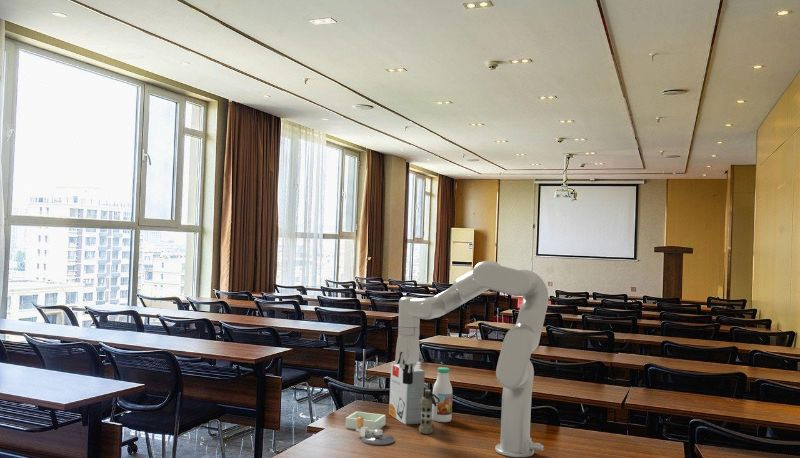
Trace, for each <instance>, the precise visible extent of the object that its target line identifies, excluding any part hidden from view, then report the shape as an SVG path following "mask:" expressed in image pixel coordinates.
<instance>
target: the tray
mask: <svg viewBox="0 0 800 458" xmlns="http://www.w3.org/2000/svg"><path fill="white" fill-rule="evenodd" d="M357 417H363V418H364V422H363V426H364V427H368V429H371V430H375V429H382V428H384V426H385V425H386V418H387V417H386V414H381V413H372V412H371V413H370V412H364V411H354V412H353V413H351V414H349V415H348V416H346V417H345V421H344V422H345V429H350V430H356V428H357Z"/></svg>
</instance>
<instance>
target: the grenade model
mask: <svg viewBox="0 0 800 458" xmlns="http://www.w3.org/2000/svg"><path fill="white" fill-rule="evenodd" d="M434 397H435V398H437V399H438V402H437V403H439V402H440V400H439V398H438V397H437V396H436V395H434V394H433V392H432V389H424V397H421V398H420V403H421V423H420V425H419V426H418V432H419V433H420V434H422V435H431V434H432V433H434V432H433V431H434V427H433V426H432V421H433V420H432V404H434V405H435V407H436V406H437V405H436V404H437V403H436V402H435V399H434Z"/></svg>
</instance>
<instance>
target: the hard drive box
mask: <svg viewBox="0 0 800 458" xmlns="http://www.w3.org/2000/svg"><path fill="white" fill-rule="evenodd" d="M399 366H400V364H396V363H390V380H389V381H390V382H389V384H390V385H389V402H388V403H389V404H388V405H389V406H388V415H390V416H391V417H392V418H394V419H396V420H397V421H399V422H400V423H401V424H404V425H407V426H408V425H416V424H421V403H420V398H421V397H425V393H424V392H425V377H426V376H425V370H423V369H420V368H418V367H416V366H414V372H412V373H413V383H412V384H403V372H402V369H401V368H399Z"/></svg>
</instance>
